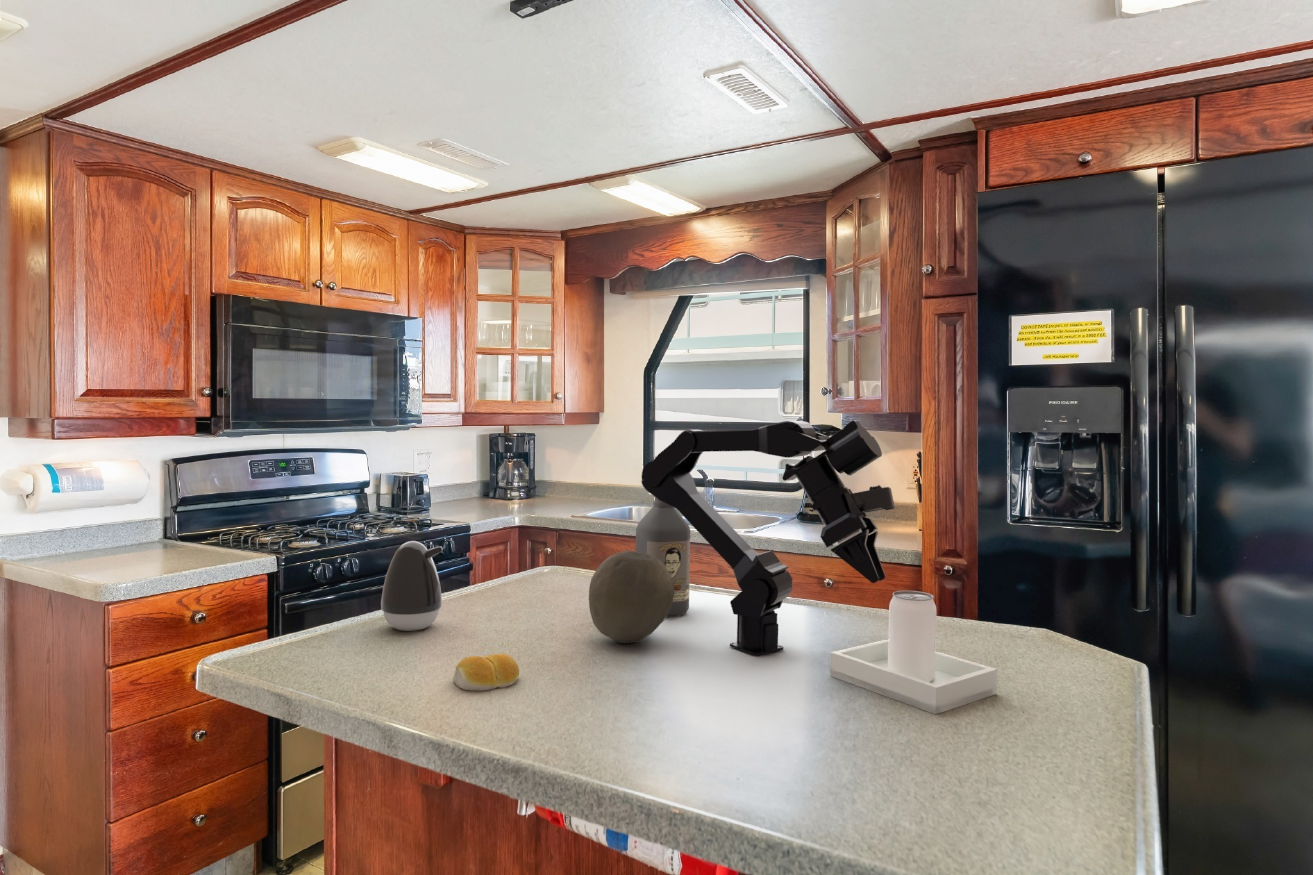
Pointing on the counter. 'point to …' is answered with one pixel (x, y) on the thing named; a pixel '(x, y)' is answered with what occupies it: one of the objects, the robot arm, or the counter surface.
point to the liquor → (668, 549)
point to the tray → (945, 692)
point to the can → (912, 634)
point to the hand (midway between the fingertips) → (879, 580)
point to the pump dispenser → (412, 588)
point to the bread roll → (486, 672)
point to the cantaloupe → (630, 596)
